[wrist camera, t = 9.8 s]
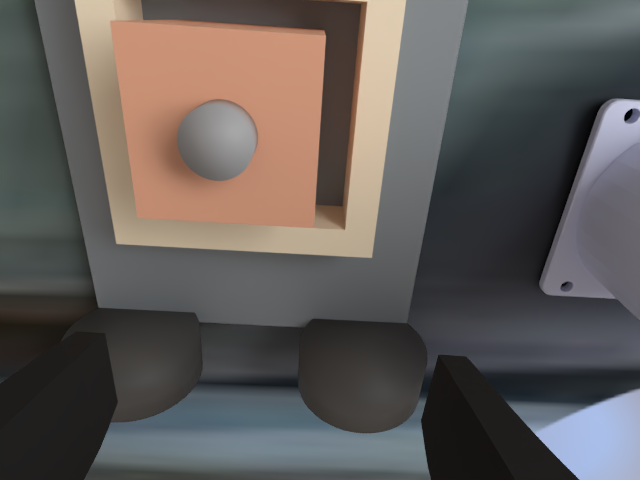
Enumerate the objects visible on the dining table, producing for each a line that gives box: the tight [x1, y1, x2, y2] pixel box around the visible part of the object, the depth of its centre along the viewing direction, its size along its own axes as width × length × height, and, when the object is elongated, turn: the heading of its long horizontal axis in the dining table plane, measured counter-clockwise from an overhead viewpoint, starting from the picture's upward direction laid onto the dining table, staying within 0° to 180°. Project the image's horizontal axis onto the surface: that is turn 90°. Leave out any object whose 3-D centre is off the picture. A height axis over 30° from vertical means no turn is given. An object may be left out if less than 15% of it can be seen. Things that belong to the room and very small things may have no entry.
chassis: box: [34, 0, 468, 433], centre depth 13 cm, size 14×21×5 cm, turn 176°
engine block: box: [110, 20, 326, 228], centre depth 12 cm, size 4×4×6 cm
